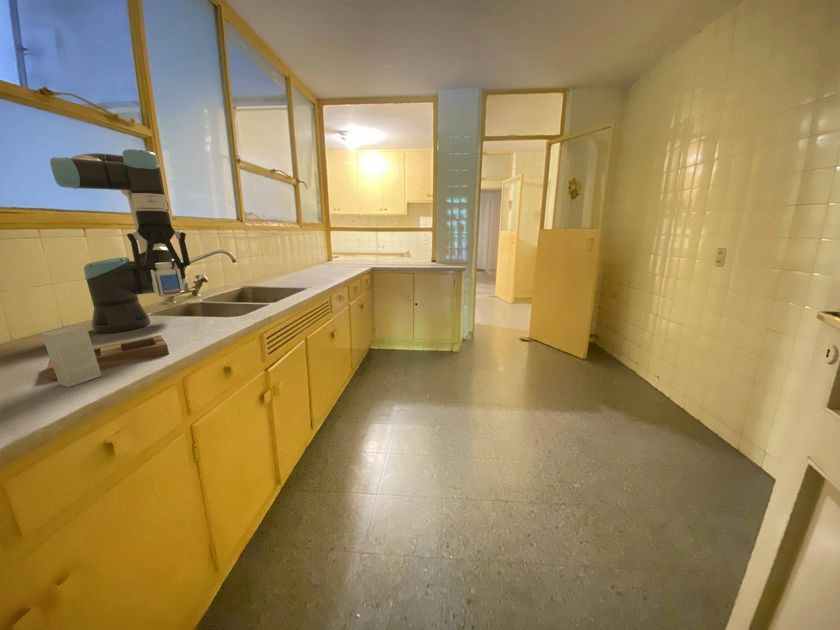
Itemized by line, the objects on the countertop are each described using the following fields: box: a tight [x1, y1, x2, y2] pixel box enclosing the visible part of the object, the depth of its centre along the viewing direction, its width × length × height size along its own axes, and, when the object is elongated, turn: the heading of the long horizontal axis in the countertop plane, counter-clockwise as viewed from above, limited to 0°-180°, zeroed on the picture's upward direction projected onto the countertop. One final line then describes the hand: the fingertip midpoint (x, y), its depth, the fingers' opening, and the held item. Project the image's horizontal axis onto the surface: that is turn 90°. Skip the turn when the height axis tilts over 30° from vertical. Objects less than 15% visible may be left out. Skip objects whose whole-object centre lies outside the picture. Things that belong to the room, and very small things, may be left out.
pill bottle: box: [154, 262, 182, 298], centre depth 99 cm, size 6×5×10 cm
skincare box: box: [41, 325, 102, 388], centre depth 74 cm, size 6×4×12 cm
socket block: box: [46, 335, 170, 381], centre depth 86 cm, size 11×22×3 cm, turn 134°
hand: (169, 290), depth 100 cm, fingers closed on pill bottle, 5 cm apart
